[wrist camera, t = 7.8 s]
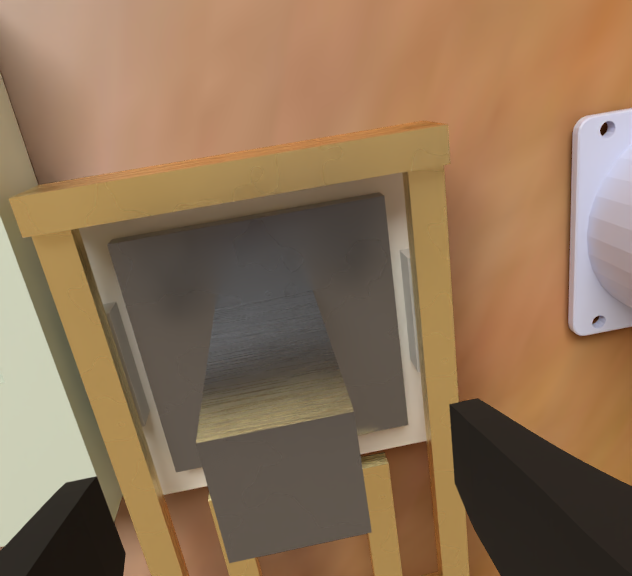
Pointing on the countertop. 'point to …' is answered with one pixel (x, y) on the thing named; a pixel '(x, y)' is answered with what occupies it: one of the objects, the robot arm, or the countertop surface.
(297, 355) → the peg
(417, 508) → the countertop surface
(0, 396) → the square cutout plate
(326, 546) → the countertop surface
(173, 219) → the socket block
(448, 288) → the gold rectangular frame
